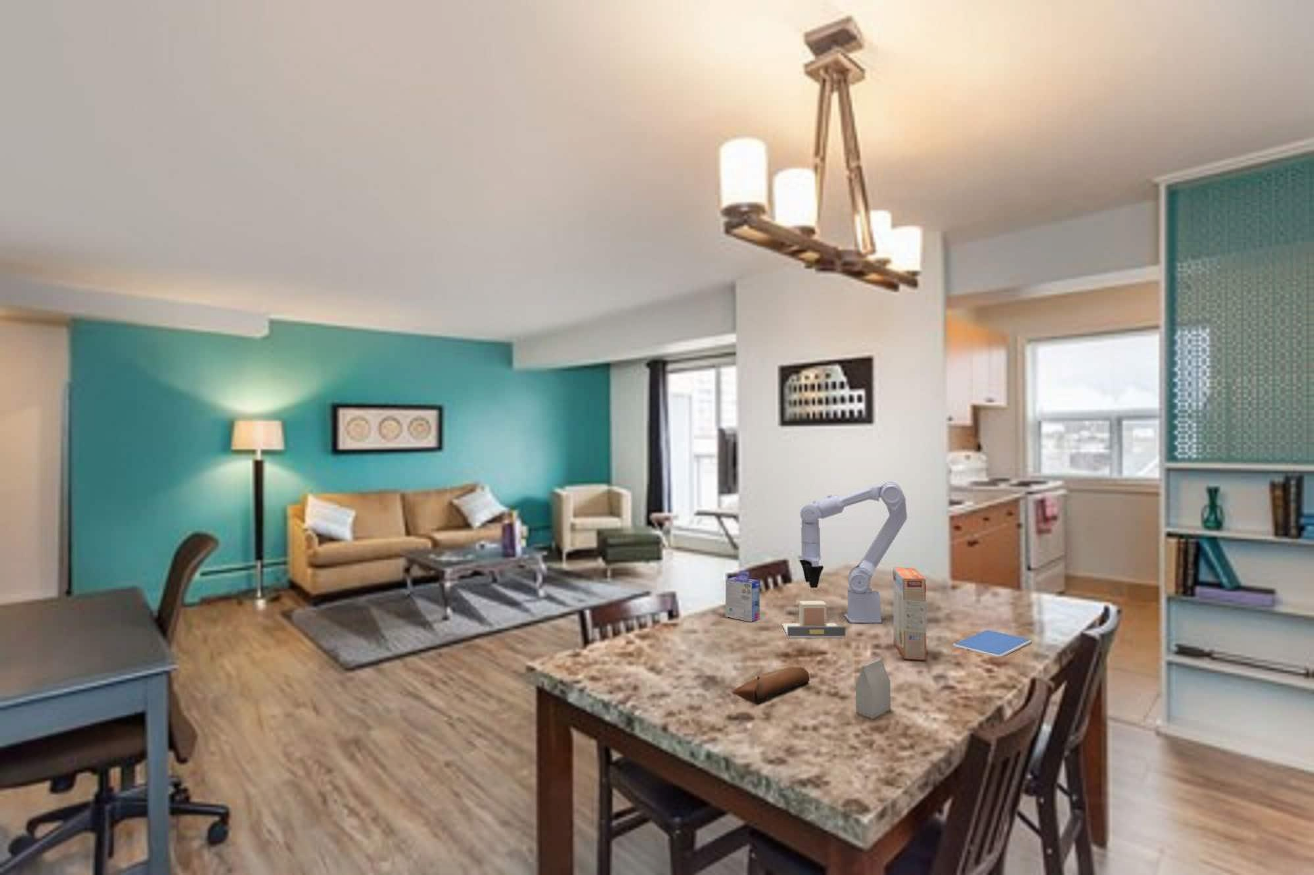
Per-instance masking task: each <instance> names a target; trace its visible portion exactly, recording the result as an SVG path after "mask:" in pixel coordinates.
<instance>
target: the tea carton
mask: <svg viewBox="0 0 1314 875" xmlns="http://www.w3.org/2000/svg"><path fill="white" fill-rule="evenodd" d="M798 619H799V620H798V623H799V626H826V623H827V604H826V603H825V601H824V600H799V601H798Z"/></svg>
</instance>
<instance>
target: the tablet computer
mask: <svg viewBox="0 0 1314 875" xmlns="http://www.w3.org/2000/svg"><path fill="white" fill-rule="evenodd" d="M1032 643H1033V641H1032V640H1031V639H1029V638H1025V637H1023V636H1021V637H1020V636H1017V635H1012V634H1007V633H1003V632H998V631H994V630H990V629H985V630H983V631H980V632H978V633H976V634H974V635H971V636H969V637H967V638H964V639H961V640H959V641H957V642H954V643H953V644H952V646H953V647H954V646H956V647H955V648H958V649H962V648H964V649H963V650H966V651H970V650H971V651H970V652H974V653H977V652H979V653H978V654H981V653H982V655H985V654H987V655H986V656H989V655H990V657H993V656H995V657H994V658H996V657H1002V658H1003V657H1006V656H1007V655H1009V654H1012V653H1013V652H1015V651H1017V650H1019V649H1021V648H1023V647H1025V646H1028V645H1029V644H1032Z"/></svg>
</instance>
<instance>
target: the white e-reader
mask: <svg viewBox="0 0 1314 875" xmlns="http://www.w3.org/2000/svg"><path fill="white" fill-rule="evenodd" d="M781 626H783V627H782V628H784V629H783V630H785V631H784V633H785V632H786V633H785V634H787V635H786V636H788V637H787V638H788V639H846V627H845V626H844V625H837V623H835V622H834V623H831V622H830V623H829V622H826V626H799V622H798V623H794V622H793V623H784V622H783V623H781Z"/></svg>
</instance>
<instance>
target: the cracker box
mask: <svg viewBox="0 0 1314 875" xmlns="http://www.w3.org/2000/svg"><path fill="white" fill-rule="evenodd" d="M892 579H893V581H892V585H893V586H892V587H893V588H892V590H893V591H892V592H893V595H892V596H893V597H892V599H893V642H894V645H895V646H896V649H897V650H898V651H899V653H900V656H901V657H902V659H903V660H911V661H912V660H913V661H927V584H926V583H927V582H926V581H927V580H926V578H925V576H923V575H922V574H921V573H920V572H919V571H917V569H915V568H914V567H893V569H892Z"/></svg>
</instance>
